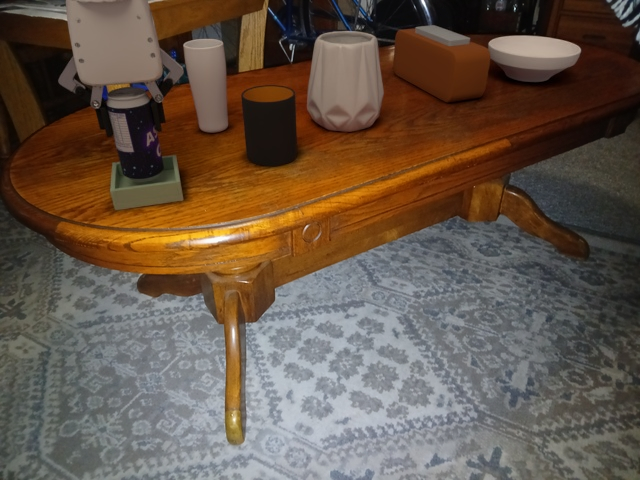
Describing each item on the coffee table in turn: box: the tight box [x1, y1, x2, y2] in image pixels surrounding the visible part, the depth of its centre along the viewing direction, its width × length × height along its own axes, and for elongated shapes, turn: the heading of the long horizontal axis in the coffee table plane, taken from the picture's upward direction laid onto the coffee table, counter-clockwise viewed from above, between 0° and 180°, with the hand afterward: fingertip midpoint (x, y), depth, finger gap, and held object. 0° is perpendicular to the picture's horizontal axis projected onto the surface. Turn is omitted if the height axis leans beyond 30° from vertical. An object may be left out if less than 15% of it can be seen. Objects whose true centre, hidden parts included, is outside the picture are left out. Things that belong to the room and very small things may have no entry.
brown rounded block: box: [392, 24, 491, 104], centre depth 111 cm, size 24×8×11 cm, turn 22°
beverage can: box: [106, 86, 164, 182], centre depth 70 cm, size 6×6×12 cm
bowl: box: [487, 35, 582, 83], centre depth 116 cm, size 20×20×7 cm
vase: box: [306, 30, 385, 133], centre depth 92 cm, size 14×14×15 cm
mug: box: [240, 84, 298, 167], centre depth 83 cm, size 8×12×10 cm
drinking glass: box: [182, 38, 229, 134], centre depth 90 cm, size 7×7×15 cm
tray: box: [109, 154, 184, 211], centre depth 74 cm, size 9×9×3 cm
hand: (134, 129), depth 70 cm, fingers closed on beverage can, 5 cm apart
